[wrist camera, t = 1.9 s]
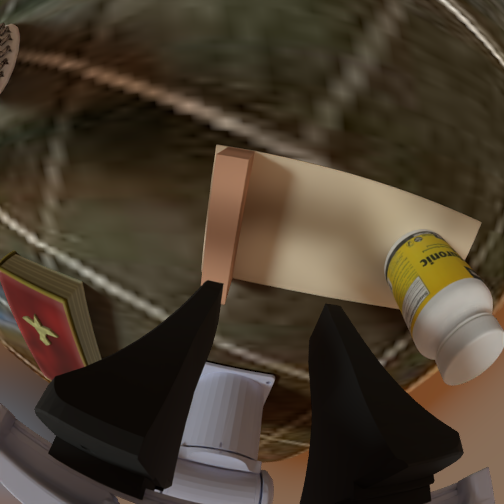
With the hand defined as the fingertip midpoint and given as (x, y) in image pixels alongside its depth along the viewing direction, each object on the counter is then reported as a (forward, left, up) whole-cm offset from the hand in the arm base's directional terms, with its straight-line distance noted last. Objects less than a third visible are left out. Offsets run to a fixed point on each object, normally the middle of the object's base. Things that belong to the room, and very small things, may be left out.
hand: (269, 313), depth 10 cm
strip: (0, -6, -8) cm, 10 cm away
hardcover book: (-19, +22, -9) cm, 31 cm away
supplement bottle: (0, -10, -8) cm, 13 cm away
